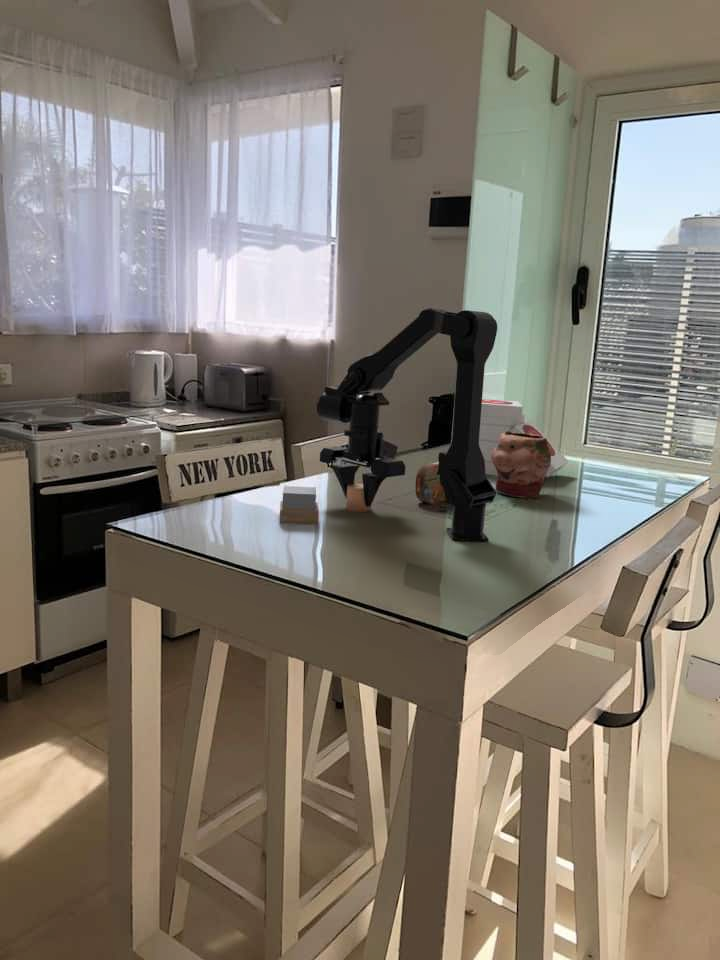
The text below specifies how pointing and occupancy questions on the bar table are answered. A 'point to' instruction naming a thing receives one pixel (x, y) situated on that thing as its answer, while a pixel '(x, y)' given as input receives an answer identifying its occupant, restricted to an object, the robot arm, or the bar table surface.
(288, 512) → the walnut block
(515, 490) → the decorative planter
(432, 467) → the tin
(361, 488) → the peach rounded block
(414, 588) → the bar table surface
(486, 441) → the pizza boxes
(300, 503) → the slate block
